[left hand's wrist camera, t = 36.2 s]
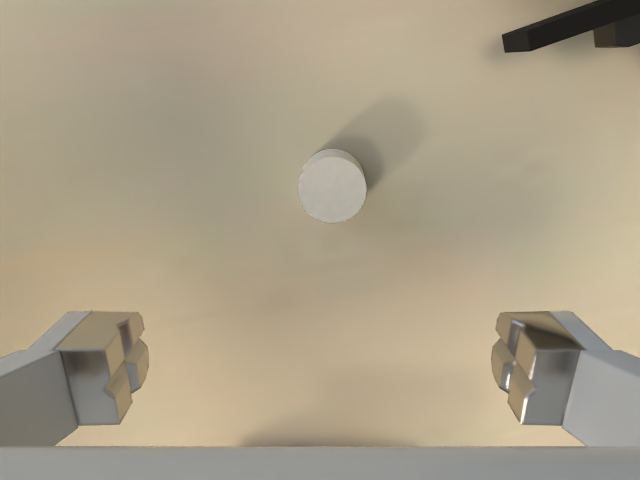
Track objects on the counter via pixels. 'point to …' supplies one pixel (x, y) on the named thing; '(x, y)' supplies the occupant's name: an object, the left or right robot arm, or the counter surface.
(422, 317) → the counter surface
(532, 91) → the counter surface
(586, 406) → the left robot arm
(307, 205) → the cap
